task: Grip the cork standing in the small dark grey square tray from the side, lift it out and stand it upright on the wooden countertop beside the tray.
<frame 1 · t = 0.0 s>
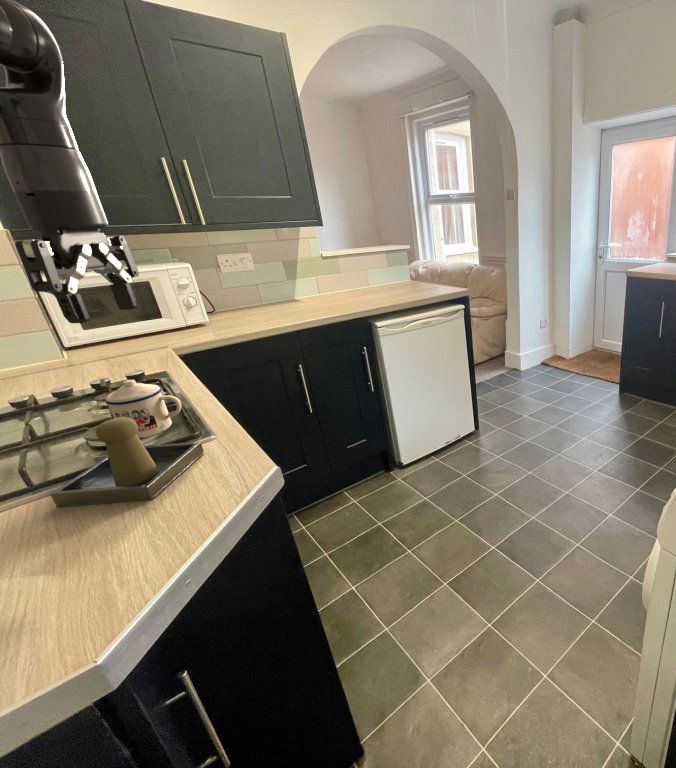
hand: (105, 315, 59), 30 cm above the worktop, tool pointing down, fingers open, 8 cm apart
teacup with lid: (156, 429, 92), on the worktop
cork: (137, 476, 75), resting on dark grey square tray
dark grey square tray: (137, 477, 75), on the worktop
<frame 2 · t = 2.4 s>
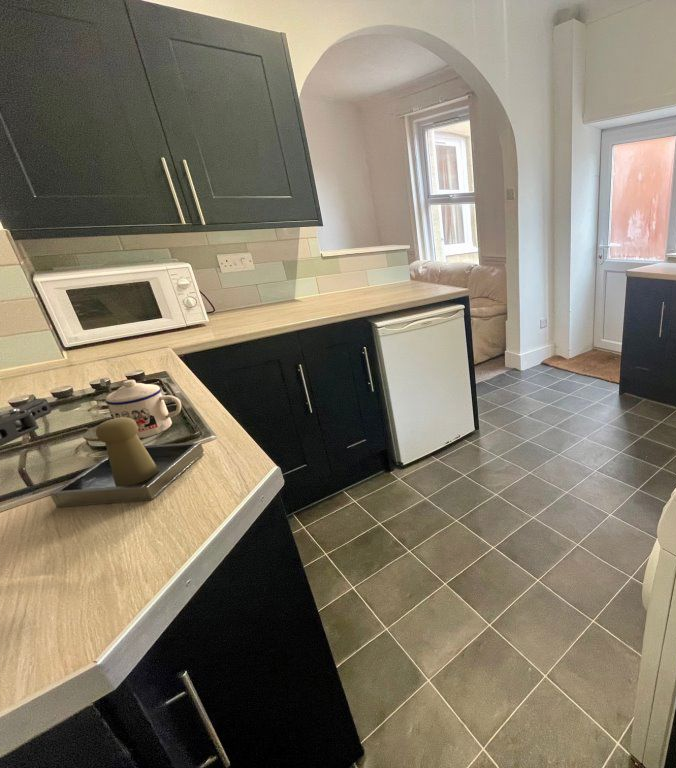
hand: (11, 406, 55), 20 cm above the worktop, tool horizontal, fingers open, 8 cm apart
nothing on the worktop moved.
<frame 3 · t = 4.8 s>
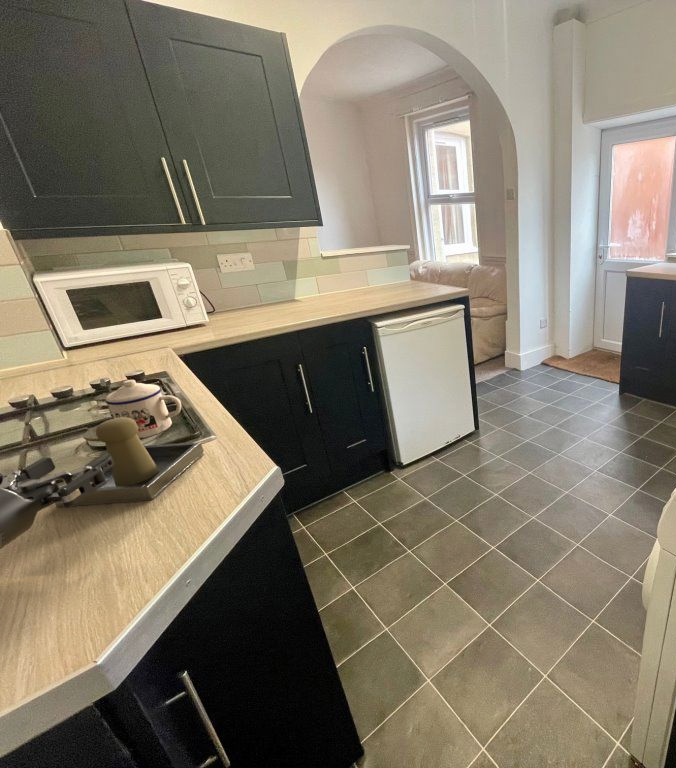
hand: (80, 460, 64), 9 cm above the worktop, tool horizontal, fingers open, 8 cm apart
nothing on the worktop moved.
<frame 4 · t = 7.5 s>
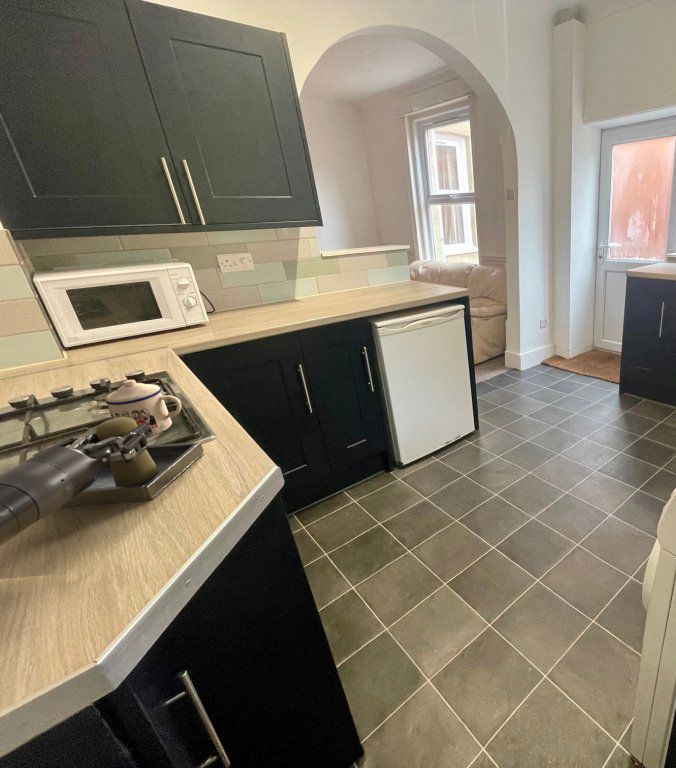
hand: (131, 428, 74), 9 cm above the worktop, tool horizontal, fingers closed on cork, 5 cm apart
cork: (137, 476, 75), resting on dark grey square tray, touching gripper
everything else where it was.
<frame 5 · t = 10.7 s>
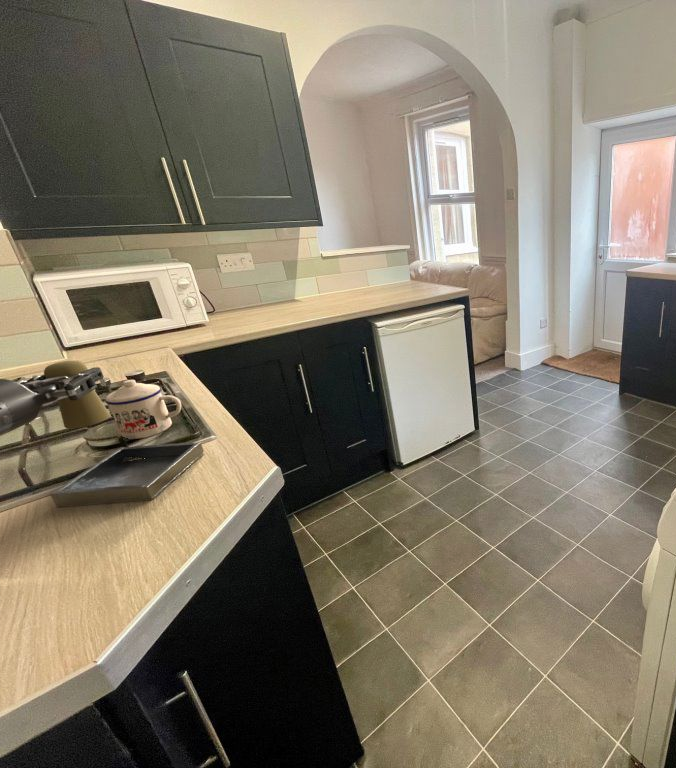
hand: (81, 373, 74), 18 cm above the worktop, tool horizontal, fingers closed on cork, 5 cm apart
cork: (88, 421, 75), point 9 cm above the worktop, touching gripper
everything else where it was.
when the fingers open (8 cm above the worktop, at t = 14.3 s): cork stays where it is, on the worktop.
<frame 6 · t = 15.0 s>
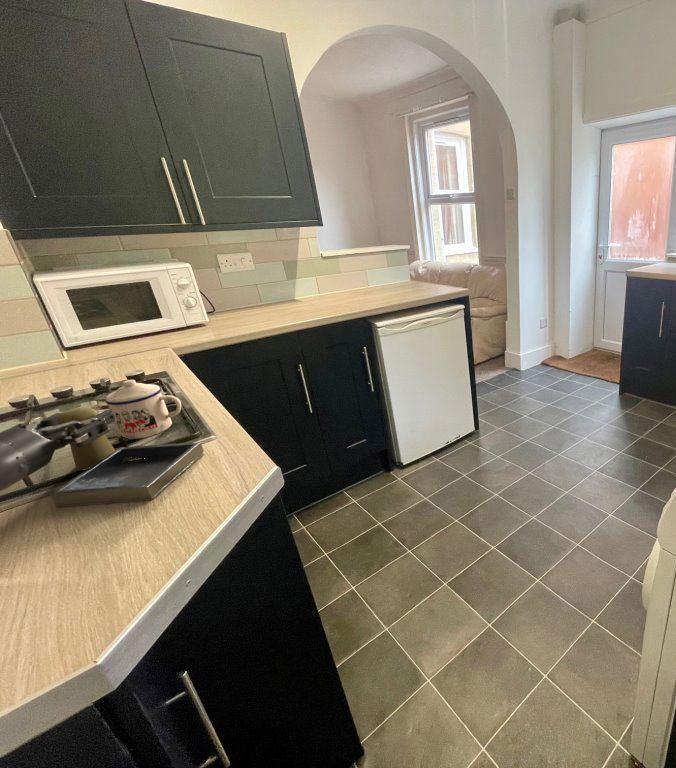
hand: (87, 415, 79), 9 cm above the worktop, tool horizontal, fingers open, 8 cm apart
cork: (98, 462, 80), on the worktop
everything else where it was.
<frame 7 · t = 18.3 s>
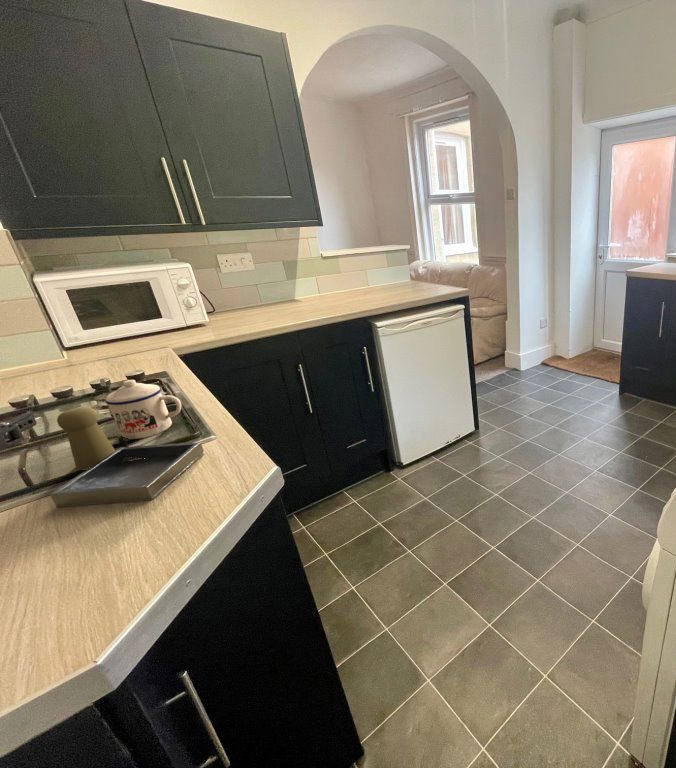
hand: (1, 419, 65), 14 cm above the worktop, tool horizontal, fingers open, 8 cm apart
nothing on the worktop moved.
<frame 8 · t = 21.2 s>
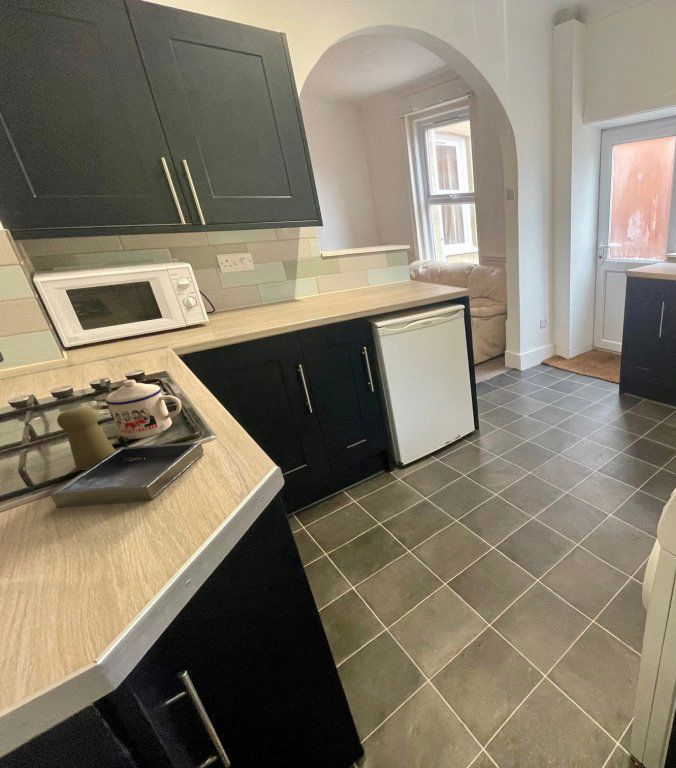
nothing on the worktop moved.
at the end: cork inside the target area (0.1 cm from its centre), on the worktop; cork tilted 0°; cork touching worktop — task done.
